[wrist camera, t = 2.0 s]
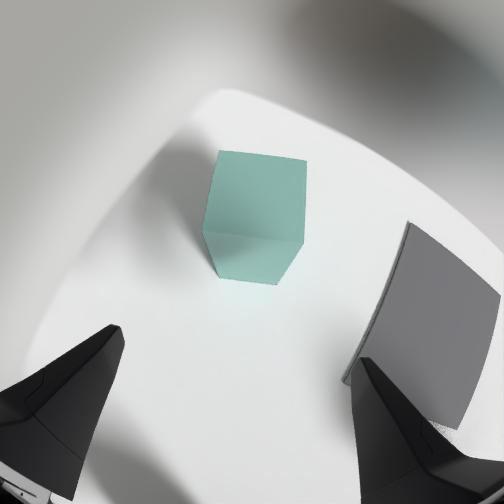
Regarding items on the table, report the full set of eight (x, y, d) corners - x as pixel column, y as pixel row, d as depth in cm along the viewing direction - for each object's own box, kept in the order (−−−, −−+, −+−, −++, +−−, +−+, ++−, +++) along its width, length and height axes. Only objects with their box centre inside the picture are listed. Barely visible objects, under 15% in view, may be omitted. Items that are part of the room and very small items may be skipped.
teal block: (276, 285, 24) (303, 243, 13) (219, 278, 24) (201, 230, 13) (281, 231, 25) (306, 161, 15) (227, 225, 25) (218, 150, 15)
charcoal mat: (455, 429, 19) (456, 429, 18) (343, 382, 21) (344, 383, 21) (499, 296, 24) (500, 295, 23) (410, 223, 26) (411, 222, 26)
